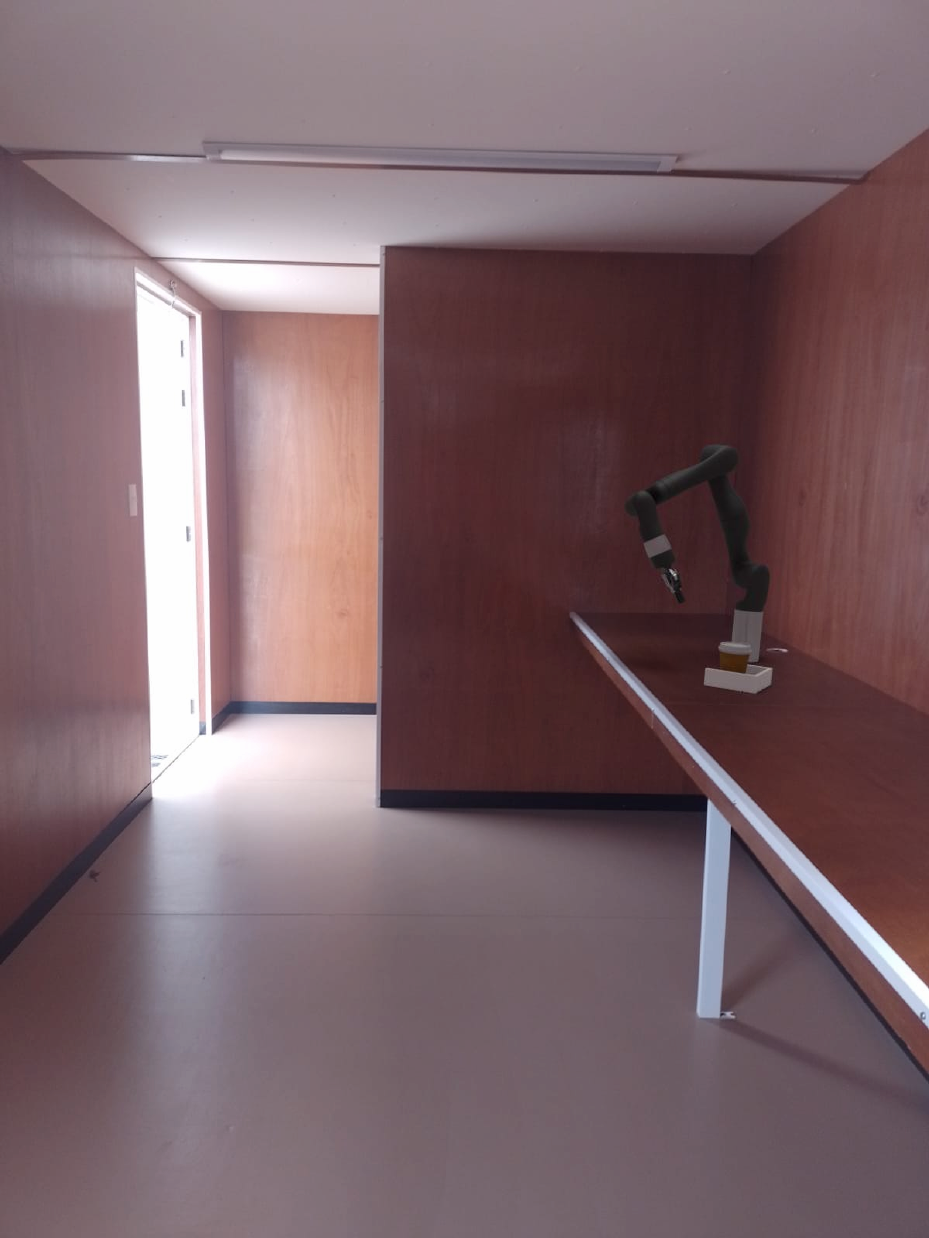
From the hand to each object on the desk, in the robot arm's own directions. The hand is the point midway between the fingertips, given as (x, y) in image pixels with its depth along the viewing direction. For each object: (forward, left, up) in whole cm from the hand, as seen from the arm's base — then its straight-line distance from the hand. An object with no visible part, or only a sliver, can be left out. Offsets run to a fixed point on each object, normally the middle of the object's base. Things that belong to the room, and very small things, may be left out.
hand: (681, 602), depth 280 cm
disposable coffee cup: (+8, +20, -22) cm, 31 cm away
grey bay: (+8, +22, -21) cm, 32 cm away
